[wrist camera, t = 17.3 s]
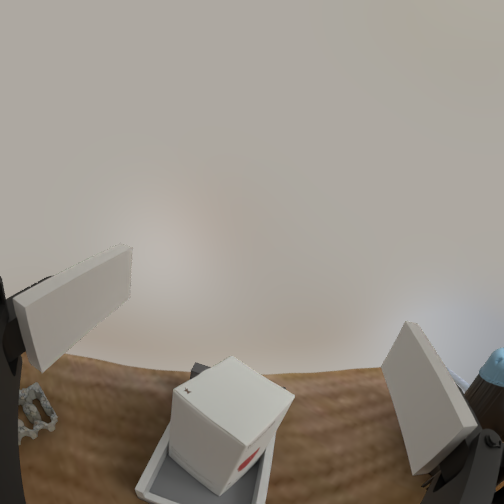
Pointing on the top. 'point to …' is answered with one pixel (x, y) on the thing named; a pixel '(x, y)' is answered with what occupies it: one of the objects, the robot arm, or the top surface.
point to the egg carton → (34, 412)
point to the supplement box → (224, 422)
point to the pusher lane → (191, 490)
